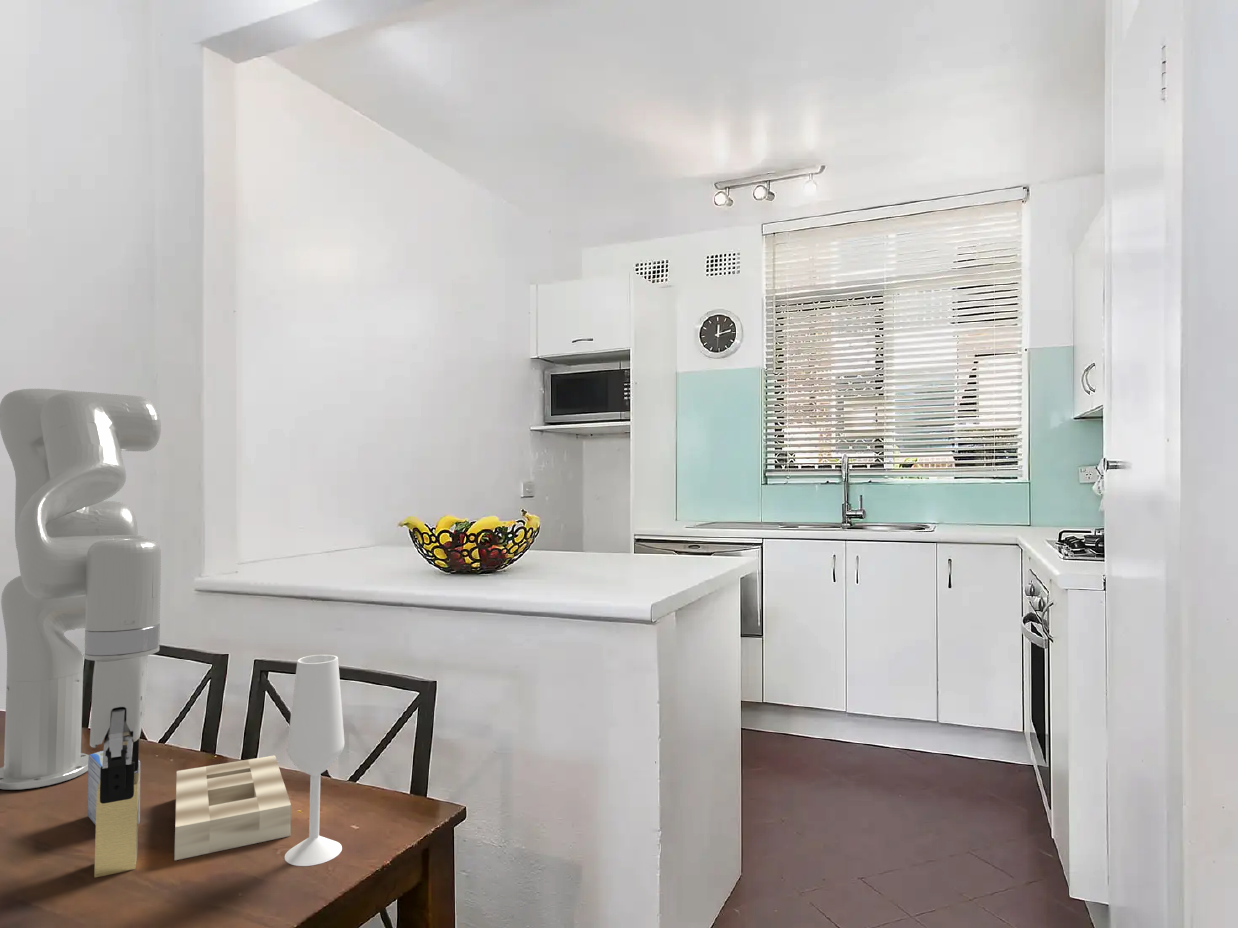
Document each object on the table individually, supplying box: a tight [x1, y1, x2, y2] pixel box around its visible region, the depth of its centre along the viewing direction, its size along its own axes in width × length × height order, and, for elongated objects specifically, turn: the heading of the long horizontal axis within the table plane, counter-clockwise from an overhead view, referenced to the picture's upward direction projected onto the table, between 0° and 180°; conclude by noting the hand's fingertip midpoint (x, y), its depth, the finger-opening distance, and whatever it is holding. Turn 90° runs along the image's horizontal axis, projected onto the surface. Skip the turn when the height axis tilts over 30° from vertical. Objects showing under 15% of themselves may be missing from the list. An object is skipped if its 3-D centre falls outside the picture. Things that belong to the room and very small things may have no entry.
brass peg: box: [93, 773, 139, 878], centre depth 89 cm, size 4×4×10 cm
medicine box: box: [87, 750, 141, 826], centre depth 101 cm, size 8×4×9 cm, turn 47°
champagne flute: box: [284, 654, 345, 867], centre depth 93 cm, size 7×7×24 cm
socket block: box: [174, 755, 292, 861], centre depth 102 cm, size 20×13×4 cm, turn 30°
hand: (120, 785), depth 89 cm, fingers open, 9 cm apart
